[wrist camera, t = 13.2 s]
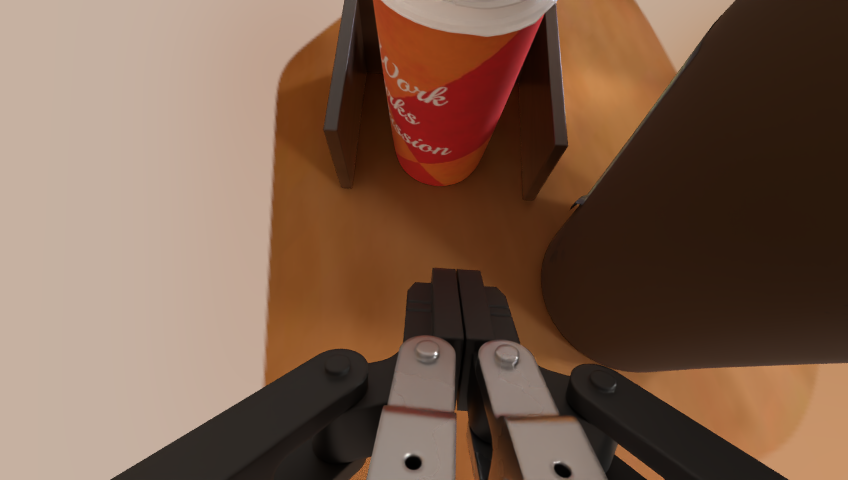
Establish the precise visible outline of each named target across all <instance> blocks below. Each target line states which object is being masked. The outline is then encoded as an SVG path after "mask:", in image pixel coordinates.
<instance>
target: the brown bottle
mask: <svg viewBox="0 0 848 480" xmlns="http://www.w3.org/2000/svg"><path fill="white" fill-rule="evenodd" d="M578 204H580V205H579V207H578V208H577V209H576V210H575V212H574V213H573V214H572V215H571V217H570V218H569V219H568V220H567V222H566V223H565V224H564V225H563V227H562V228H561V229H560V230H559V232H558V233H557V234H556V235H555V237H554V238H553V240H552V241H551V243H550V245H549V247H548V249H547V251H546V254H545V257H544V260H543V265H542V273H541V284H542V292H543V297H544V301H545V304H546V307H547V309H548V312H549V314H550V316H551V318H552V320H553V322H554V323H555V325H556V326H557V328H558V329H559V331H560V332H561V333H562V335H563V336H564V337H565V338H566V339H567V340H568V341H569V342H570V343H571V344H572V345H573V346H574V347H575V348H576V349H577V350H579V351H580V352H581V353H583V354H584V355H585V356H587V357H589V358H590V359H592V360H594V361H596V362H598V363H600V364H602V365H604V366H607V367H610V368H613V369H617V370H621V371H627V372H657V371H671V370H686V369H701V368H721V367H747V366H773V365H799V364H827V363H848V0H735V2H733V4H732V5H731V6H730V7H729V8H728V9H727V10H726V11H725V12H724V13H723V15H721V16H720V17H719V19H718V20H717V21H716V22H715V23H714V24H713V25H712V27H711V28H710V29H709V31H708V32H707V33H706V35H705V36H704V37H703V39H702V40H701V42H700V43H699V44H698V46H697V47H696V48H695V50H694V51H693V52H692V54H691V55H690V56H689V58H688V59H687V61H686V62H685V64H684V65H683V66H682V67H681V69H680V70H679V72H678V73H677V74H676V76H675V77H674V78H673V80H672V81H671V82H670V84H669V85H668V87H667V88H666V89H665V91H664V92H663V93H662V95H661V96H660V98H659V99H658V100H657V102H656V103H655V104H654V106H653V107H652V109H651V110H650V111H649V113H648V114H647V115H646V117H645V118H644V120H643V121H642V122H641V124H640V125H639V126H638V128H637V129H636V130H635V132H634V133H633V135H632V136H631V137H630V139H629V140H628V141H627V143H626V144H625V145H624V147H623V148H622V149H621V151H620V152H619V153H618V155H617V156H616V157H615V159H614V160H613V161H612V163H611V164H610V165H609V167H608V168H607V169H606V171H605V172H604V173H603V175H602V176H601V177H600V179H599V180H598V181H597V183H596V184H595V185H594V187H593V188H592V189H591V191H590V192H589V193H588V195H585V196H582V197H581V198H579V199H578V200H577V201H576V202H575V203H574V204H573V206H572V207H573V208H574V206H575V205H578ZM572 207H571V209H572ZM571 209H570V210H571Z"/></svg>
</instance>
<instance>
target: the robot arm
mask: <svg viewBox="0 0 848 480" xmlns="http://www.w3.org/2000/svg"><path fill="white" fill-rule="evenodd" d="M456 398H457V410H459V411H468V418H469V421H468V428H467V442H468V448H469V453H470V459H471V464H472V469H473V475H474V480H647V479H645V478H644V477H643V476H642V475H640V474H639V473H638V472H636V471H635V470H634V469H633V468H631V467H630V466H629V465H627V464H626V463H625V462H624V461H622V460H621V459H620V458H618V457H617V456H616V455H615V451H616V448H617V445H618V444H619V445H621V446H622V447H623V448H625V449H626V450H627V451H629V452H630V453H631V454H633V455H634V456H635V457H637V458H638V459H639V460H640V461H642V462H643V463H644V464H646V465H647V466H648V467H650V468H651V469H652V470H654V471H655V472H656V473H658V474H659V475H660V476H662V477H663V478H664V479H665V480H788V479H787V478H785V477H783V476H782V475H780V474H779V473H777V472H775V471H774V470H772V469H770V468H769V467H767V466H766V465H764V464H763V463H761V462H760V461H758V460H756V459H755V458H753V457H752V456H750V455H748V454H747V453H745V452H744V451H742V450H740V449H739V448H737V447H736V446H734V445H732V444H731V443H729V442H728V441H726V440H724V439H723V438H721V437H720V436H718V435H716V434H715V433H713V432H712V431H710V430H708V429H707V428H705V427H704V426H702V425H700V424H699V423H697V422H696V421H694V420H693V419H691V418H689V417H688V416H686V415H685V414H683V413H681V412H680V411H678V410H677V409H675V408H673V407H672V406H670V405H669V404H667V403H665V402H664V401H662V400H661V399H659V398H657V397H656V396H654V395H653V394H651V393H649V392H648V391H646V390H645V389H643V388H641V387H640V386H638V385H637V384H635V383H633V382H632V381H630V380H629V379H627V378H625V377H624V376H622V375H621V374H619V373H617V372H616V371H614V370H612V369H610V368H607V367H604V366H601V365H597V364H582V365H579V366H577V367H575V368H574V369H573V370H572V372H571V375H570V376H567V375H563V374H560V373H556V372H553V371H550V370H547V369H544V368H542V367H540V366H538V365H537V363H536V360H535V358H534V356H533V355H532V353H531V352H530V351H529V350H528V349H527V348H525V347H524V346H522V345H521V344H520V341H519V338H518V335H517V331H516V328H515V325H514V322H513V319H512V317H511V312H510V309H509V306H508V303H507V299H506V296H505V295H504V294H503V293H502V292H501V291H500V290H499V289H498V288H497V287H488V286H484V285H483V281H482V276H481V272H480V271H478V270H461V269H457V270H455V269H444V268H432V277H431V283H420V282H415V283H414V284H413V285H412V286H411V287H410V289H409V290H408V293H407V305H406V316H405V328H404V339H403V344H402V345H401V346H400V349H399V351H398V352H397V353H396V354H395V355H393V356H392V357H390V358H388V359H385V360H382V361H378V362H373V363H367V361H366V359H365V358H364V357H363V356H362V355H361V354H359V353H357V352H355V351H352V350H348V349H333V350H329V351H325V352H323V353H321V354H319V355H317V356H315V357H314V358H312V359H310V360H309V361H307V362H305V363H304V364H302V365H300V366H299V367H297V368H295V369H294V370H292V371H290V372H289V373H287V374H285V375H284V376H282V377H280V378H279V379H277V380H275V381H274V382H272V383H270V384H269V385H267V386H265V387H264V388H262V389H260V390H259V391H257V392H255V393H254V394H252V395H250V396H249V397H247V398H246V399H244V400H242V401H241V402H239V403H238V404H236V405H234V406H232V407H231V408H229V409H227V410H225V411H224V412H222V413H221V414H219V415H217V416H215V417H214V418H212V419H210V420H209V421H207V422H206V423H204V424H202V425H201V426H199V427H197V428H196V429H194V430H192V431H191V432H189V433H187V434H186V435H184V436H182V437H181V438H179V439H177V440H176V441H174V442H172V443H171V444H169V445H167V446H166V447H164V448H162V449H161V450H159V451H157V452H156V453H154V454H152V455H151V456H149V457H148V458H146V459H144V460H142V461H141V462H139V463H137V464H136V465H134V466H132V467H131V468H129V469H127V470H126V471H124V472H122V473H121V474H119V475H117V476H116V477H114V478H112V479H111V480H349V479H350V478H351V477H352V476H353V475H354V474H356V473H357V472H358V471H359V470H360V469H361V468H362V466H363V465H364V463H365V461H366V458H367V457H371V456H372V457H371V461H370V466H369V470H368V475H367V479H366V480H455V472H456V413H454V410H455V406H456Z"/></svg>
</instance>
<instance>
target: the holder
mask: <svg viewBox="0 0 848 480" xmlns="http://www.w3.org/2000/svg"><path fill="white" fill-rule="evenodd" d="M367 72H368V73H382V74H383V68H382V61H381V54H380V47H379V39H378V32H377V25H376V18H375V11H374V4H373V0H344V6H343V12H342V18H341V24H340V30H339V36H338V43H337V49H336V55H335V61H334V67H333V73H332V80H331V86H330V92H329V98H328V104H327V110H326V116H325V123H324V129H323V130H324V133H325V136H326V139H327V143H328V146H329V149H330V153H331V156H332V159H333V163H334V166H335V169H336V173H337V176H338V179H339V183H340V186H341V188H350V189H351V188H352V185H353V177H354V169H355V161H356V153H357V146H358V138H359V130H360V122H361V114H362V106H363V98H364V90H365V82H366V74H367ZM515 83H519V109H520V136H521V164H522V191H523V200H534V199H535V197H536V195H537V194H538V192H539V191H540V189H541V188H542V186H543V184H544V183H545V181H546V180H547V178H548V177H549V175H550V174H551V172H552V170H553V169H554V167H555V166H556V164H557V163H558V161H559V159H560V158H561V156H562V155H563V153H564V152H565V150H566V148H567V147H568V140H567V128H566V116H565V104H564V92H563V80H562V68H561V56H560V44H559V32H558V19H557V7H556V3H555V4H554V5H553V6H552V7H551V8H550V9H549V10H548V11H547V12H545V14H544V16H543V19H542V21H541V23H540V25H539V28H538V30H537V32H536V35H535V37H534V39H533V42H532V44H531V46H530V49H529V51H528V53H527V56H526V58H525V60H524V63H523V65H522V67H521V70H520V72H519V74H518V76H517V79H516V81H515Z"/></svg>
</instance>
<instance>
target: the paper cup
mask: <svg viewBox="0 0 848 480" xmlns="http://www.w3.org/2000/svg"><path fill="white" fill-rule="evenodd" d="M556 2H557V0H373V4H374V11H375V18H376V25H377V32H378V39H379V47H380V54H381V61H382V68H383V75H384V82H385V89H386V96H387V103H388V109H389V116H390V123H391V129H392V136H393V141H394V147H395V151H396V155H397V158H398V161H399V163H400V165H401V166H402V168H403V169H404V170H405V172H406V173H407V174H409V175H410V176H411V177H412V178H414V179H416V180H417V181H419V182H422V183H424V184H428V185H433V186H447V185H452V184H455V183H458V182H460V181H462V180H464V179H465V178H467V177H468V176H469V175H470V174H471V173H472V172H473V171H474V170H475V168H476V167H477V165H478V164H479V162H480V160H481V158H482V156H483V154H484V152H485V149H486V147H487V145H488V143H489V141H490V138H491V136H492V134H493V132H494V129H495V127H496V125H497V123H498V120H499V118H500V116H501V113H502V111H503V109H504V107H505V104H506V102H507V100H508V97H509V95H510V93H511V90H512V88H513V86H514V83H515V81H516V79H517V76H518V74H519V72H520V70H521V67H522V65H523V63H524V60H525V58H526V56H527V53H528V51H529V49H530V46H531V44H532V42H533V39H534V37H535V35H536V32H537V30H538V28H539V25H540V23H541V21H542V19H543V16H544V14H545V12H547V11H548V10H549V9H550V8H551V7H552V6H553V5H554V4H555V3H556Z"/></svg>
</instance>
